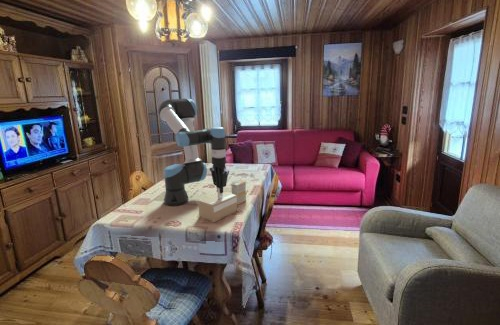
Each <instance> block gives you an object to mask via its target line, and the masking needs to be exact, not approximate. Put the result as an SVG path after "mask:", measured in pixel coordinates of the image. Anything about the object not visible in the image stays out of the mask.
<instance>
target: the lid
mask: <svg viewBox="0 0 500 325" xmlns="http://www.w3.org/2000/svg"><path fill="white" fill-rule="evenodd" d="M235 197H236V195H234V194H232V193H229V192H226V191H223V198H221V199H218V192H216V193H214V194H211V195H208V196H206V197H203V198H201V199H198V200H197V203H198V202H200V203H203V204H207V205H210V206H213V207H214V206H216V205H219V204H221V203H223V202H225V201H228V200H230V199H232V198H235Z"/></svg>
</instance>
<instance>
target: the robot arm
mask: <svg viewBox="0 0 500 325" xmlns="http://www.w3.org/2000/svg"><path fill="white" fill-rule="evenodd" d="M157 113H158V116H159V118H160V119H161V120H162V121H164V122H165V123H166V124H167V126H168V127H169V128H170V129H171V130H172V132H173V133H174V134H175V142H176V145H177V146H178V147H183V151H184V157H185V158H184V159H185V161H184V162H183V164H182V163H177V164H176V163H175V164H172V165H169V166H166V167H165V168H164V169H163V177H164V186H165V194H164V198H163V203H164V205H166V206H168V207H169V206H170V207H173V206H174V207H175V206H181V205H185V204H186V203H188V202H189V195H188V193H187V190H186V188H185V185H188V184H191V183H196V182H197V183H198V182H202V181H204V180H205V179H206V177H207V174H208V167H207V166H206V163H205V162H203V160H202V159H201V158H200V155H199V150H198V145H204V144H205V145H206V144H210V146H211V147H210V150H211V164H212V166H211V167H209V171H210V175H211V178H212V184H213V186H215V187H216V193H218V199H221V198H223V192H224V188H225V187H226V186H227V184H228V183H227V182H228V176H229V174H230V170H227V166H226V164H227V157H226V155H227V153H226V152H227V151H226V129H225V128H224V127H222V126H213V127H211V128H203V129H201V130H200V129H198V130H195V125H194V121H195V119H196V116H197V114H198V109H197V105H196V103H195V101H194V100H193V99H191V98H176V99H175V98H174V99H172V98H169V99H165V100H163V101H162V102H161V103H160V104H159V106H158V109H157Z"/></svg>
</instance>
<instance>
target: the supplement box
mask: <svg viewBox="0 0 500 325" xmlns="http://www.w3.org/2000/svg"><path fill="white" fill-rule="evenodd" d="M230 184H231V194H234V195H236V197H237V206H239V205H241V204H243V203H245V202H247V191H246V190H247V189H246V188H247V187H246V181H245V180H238V181H235V182H233V183H230Z"/></svg>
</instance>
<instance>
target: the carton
mask: <svg viewBox="0 0 500 325" xmlns="http://www.w3.org/2000/svg"><path fill="white" fill-rule="evenodd" d="M197 203H198V217H199V218H201V219H204V220H206V221H209V222H212V223H216V222H219V221H221V220H223V219H225V218H226V217H229V216H231V215H233V214H235V213H237V212H238V205H237V197H235V198H232V199H230V200H228V201H225V202H223V203H221V204H219V205H216V206H214V207H213V206H210V205H207V204H203V203H200V202H198V201H197Z"/></svg>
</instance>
